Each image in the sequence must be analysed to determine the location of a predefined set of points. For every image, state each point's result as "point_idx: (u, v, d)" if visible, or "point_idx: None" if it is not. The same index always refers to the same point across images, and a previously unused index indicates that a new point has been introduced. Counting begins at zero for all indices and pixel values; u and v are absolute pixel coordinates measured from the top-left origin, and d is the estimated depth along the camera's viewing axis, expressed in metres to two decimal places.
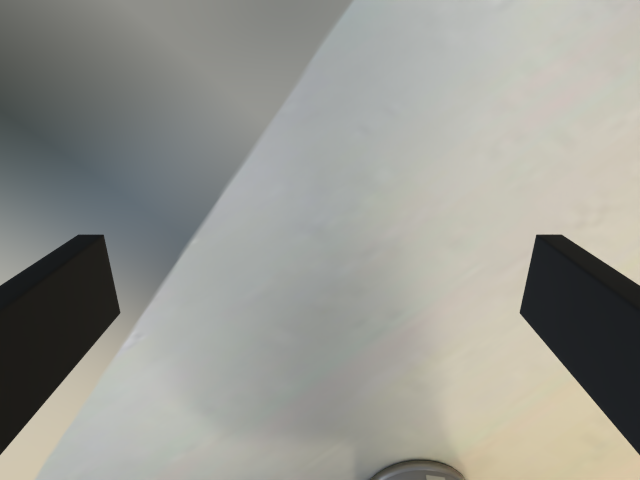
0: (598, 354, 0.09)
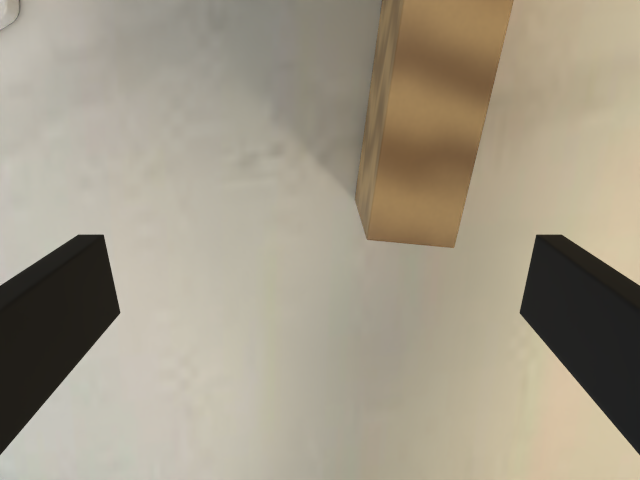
0: (598, 354, 0.09)
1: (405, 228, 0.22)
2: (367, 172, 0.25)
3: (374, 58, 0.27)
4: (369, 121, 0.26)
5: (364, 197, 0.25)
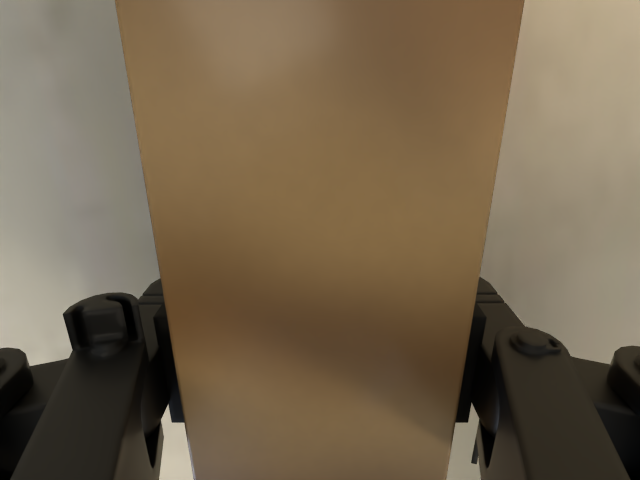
0: None
1: None
2: None
3: None
4: None
5: None
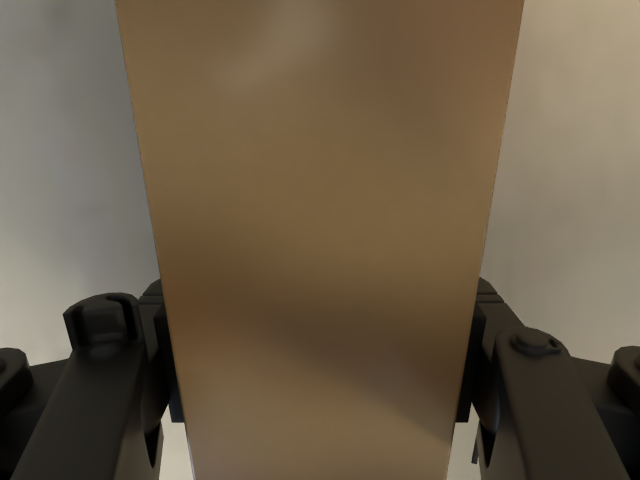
0: None
1: None
2: None
3: None
4: None
5: None
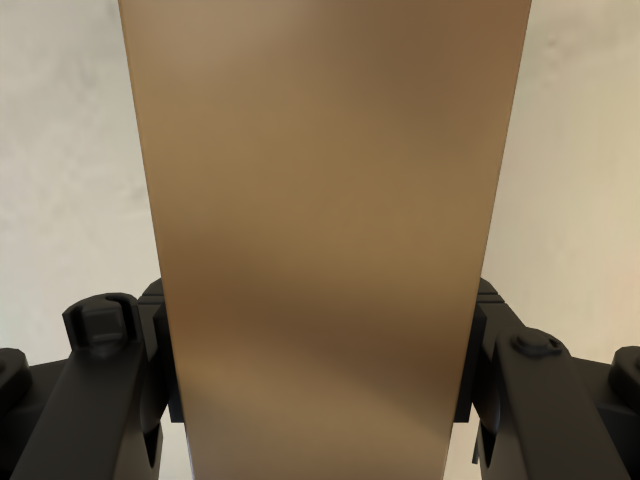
0: None
1: None
2: None
3: None
4: None
5: None
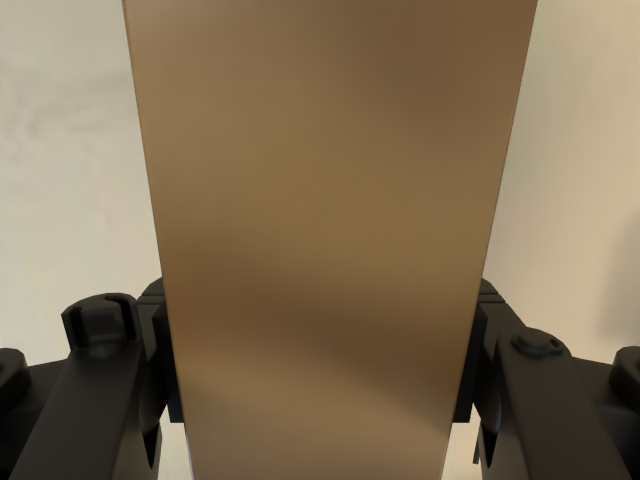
0: None
1: None
2: None
3: None
4: None
5: None
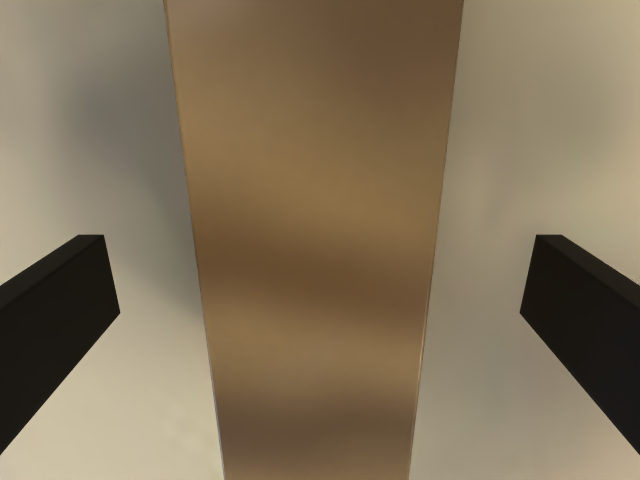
0: (598, 354, 0.09)
1: None
2: None
3: None
4: None
5: None
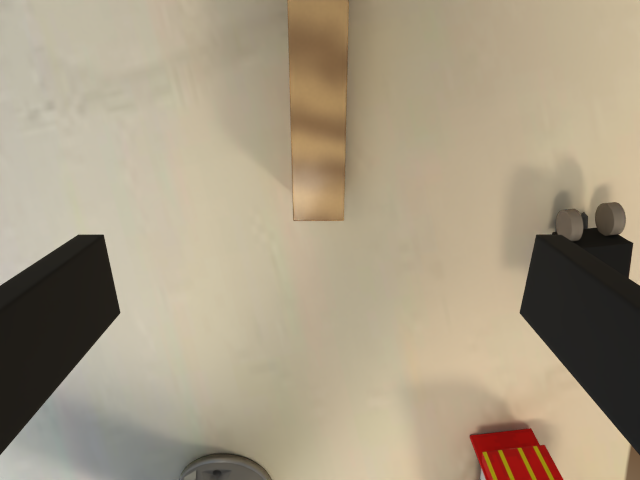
0: (598, 354, 0.09)
1: (313, 212, 0.40)
2: None
3: None
4: None
5: None
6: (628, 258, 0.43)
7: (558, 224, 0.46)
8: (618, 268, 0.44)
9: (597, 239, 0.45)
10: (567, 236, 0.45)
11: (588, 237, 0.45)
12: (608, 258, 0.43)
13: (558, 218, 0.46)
